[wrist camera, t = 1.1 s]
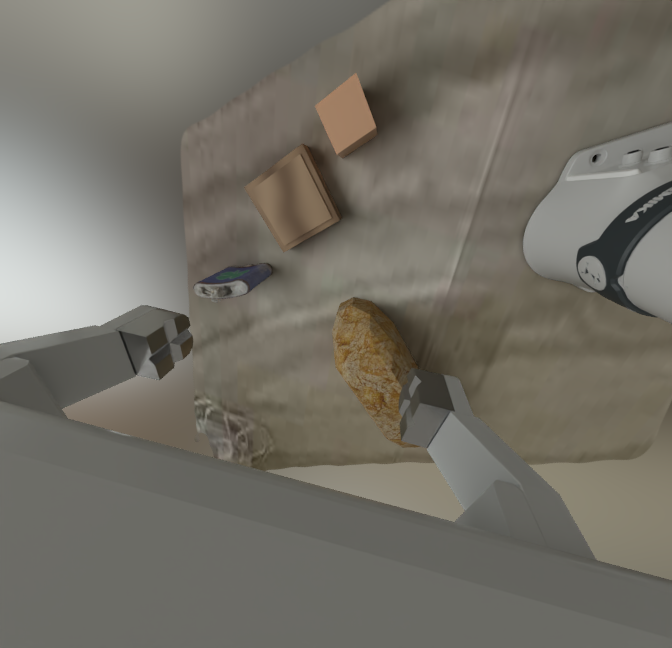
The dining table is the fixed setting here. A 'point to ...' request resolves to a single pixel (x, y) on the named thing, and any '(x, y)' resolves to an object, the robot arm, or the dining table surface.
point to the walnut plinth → (294, 199)
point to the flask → (232, 281)
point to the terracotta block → (347, 117)
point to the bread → (373, 362)
